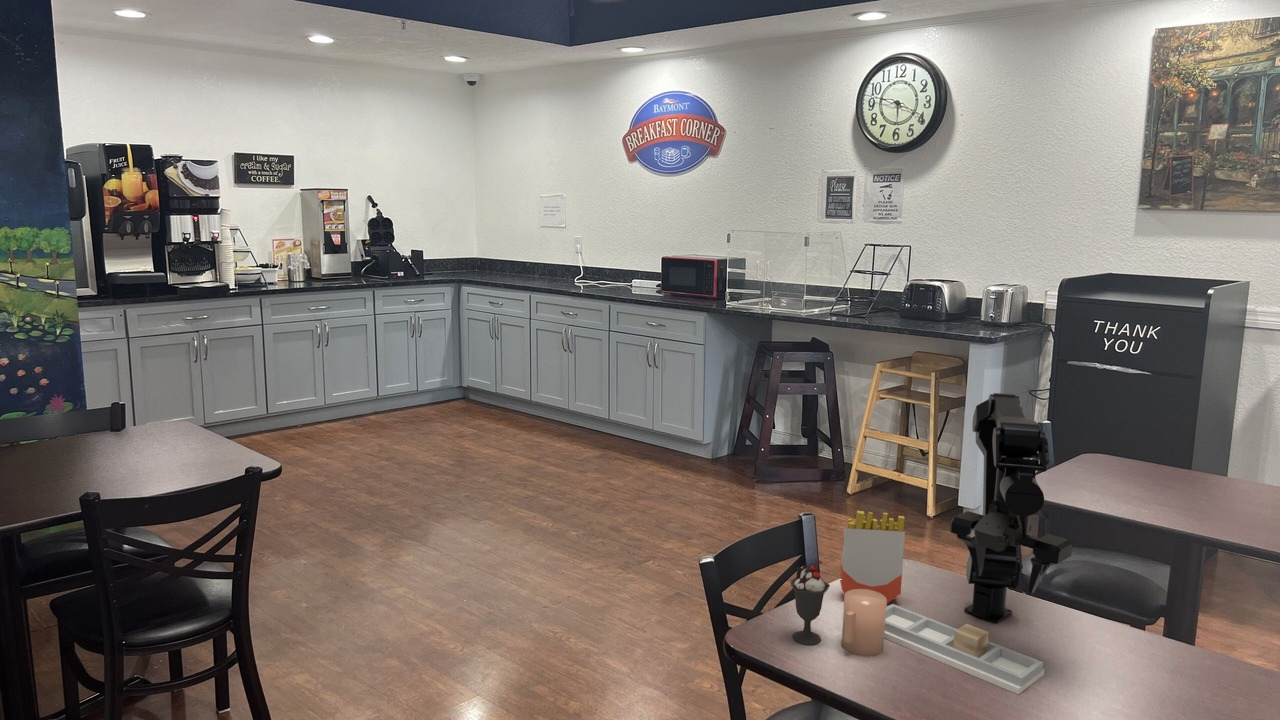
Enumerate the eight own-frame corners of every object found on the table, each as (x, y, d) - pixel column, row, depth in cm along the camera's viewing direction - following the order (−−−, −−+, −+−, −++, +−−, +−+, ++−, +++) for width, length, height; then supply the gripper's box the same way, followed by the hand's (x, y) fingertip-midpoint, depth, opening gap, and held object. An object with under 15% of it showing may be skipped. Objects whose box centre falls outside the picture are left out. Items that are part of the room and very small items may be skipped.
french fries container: (839, 592, 179) (844, 504, 176) (895, 595, 178) (902, 507, 174) (841, 602, 174) (847, 512, 171) (899, 606, 173) (906, 515, 170)
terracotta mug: (856, 632, 162) (859, 585, 161) (891, 647, 157) (894, 598, 156) (828, 648, 157) (831, 598, 155) (863, 663, 152) (866, 613, 150)
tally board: (893, 615, 169) (894, 602, 169) (1043, 675, 149) (1045, 660, 149) (865, 630, 163) (866, 617, 163) (1018, 694, 143) (1019, 679, 143)
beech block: (964, 645, 156) (966, 623, 156) (986, 654, 154) (988, 632, 153) (952, 653, 154) (954, 630, 153) (975, 662, 151) (977, 639, 150)
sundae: (826, 649, 156) (831, 566, 153) (786, 645, 157) (790, 563, 155) (826, 631, 163) (831, 552, 160) (788, 627, 164) (792, 548, 161)
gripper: (936, 491, 154) (929, 579, 156) (1047, 522, 140) (1037, 617, 143) (969, 479, 161) (962, 562, 164) (1078, 506, 148) (1068, 597, 150)
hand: (1004, 584), depth 155 cm, fingers open, 9 cm apart
